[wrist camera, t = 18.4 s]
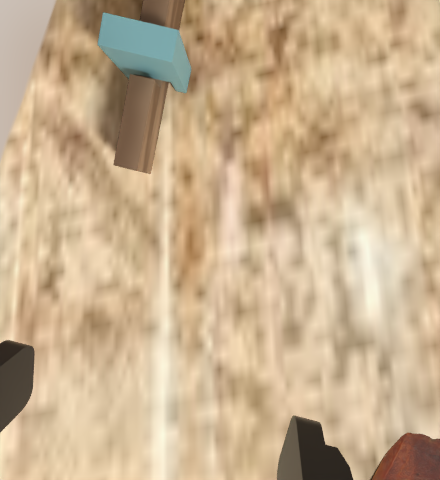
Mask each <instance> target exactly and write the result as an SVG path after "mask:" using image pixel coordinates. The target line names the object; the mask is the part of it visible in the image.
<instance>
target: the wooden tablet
mask: <svg viewBox="0 0 440 480" xmlns="http://www.w3.org/2000/svg"><path fill="white" fill-rule="evenodd" d="M372 480H440V439H431V438H430V437H428V436H426V435H423V434H412V433H406V434H405V435H403V436H402V437H401V438H400V439H399V440H398V441H397V442H396V443H395V444H394V445H393V446H392V447H391V448H390V450H389V451H388V452H387V453H386V454H385V456H384V457H383V459H382V461H381V463H380V464H379V466H378V469H377V470H376V472H375V474H374V476H373V478H372Z"/></svg>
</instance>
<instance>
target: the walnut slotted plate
mask: <svg viewBox="0 0 440 480" xmlns="http://www.w3.org/2000/svg"><path fill="white" fill-rule="evenodd" d="M184 2H185V0H143V5H142V10H141V16H140V21H142V22H147V23H151V24H155V25H159V26H164V27H168V28H172V29H176V30H179V27H180V22H181V17H182V12H183V7H184ZM168 83H169V82H166V81H162V80H158V79H154V78H150V77H145V76H141V75H140V76H136V75H132V74H130V77H129V82H128V88H127V93H126V99H125V104H124V110H123V115H122V121H121V126H120V132H119V137H118V143H117V148H116V154H115V160H114V165H115V166H119V167H123V168H127V169H131V170H136V171H140V172H144V173H148V174H151V169H152V164H153V159H154V154H155V149H156V144H157V139H158V134H159V129H160V124H161V119H162V114H163V109H164V103H165V98H166V93H167V88H168Z"/></svg>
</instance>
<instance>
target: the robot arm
mask: <svg viewBox="0 0 440 480" xmlns="http://www.w3.org/2000/svg"><path fill="white" fill-rule="evenodd" d="M33 373H34V348H33V347H32V346H29V345H25V344H22V343H18V342H14V341H10V340H6V341H4V342H2V343H1V344H0V432H1V431H2V430H3V429H4V428H5V427H6V426H7V425H8V424H9V423H10V422H11V421H12V420H13V419H14V418H15V417H16V416H17V415H18V414H19V413H20V412H21V411H22V410H23V408H24V407H25V406H26V404H27V402H28V401H29V398H30V396H31V393H32V389H33ZM277 480H353V478H352V474H351V470H350V467H349V465H348V464H347V462H346V461H345V459H344V457H343V456H342V454H341V453H340V451H339V450H338V448H336V447H332V446H328V445H325V441H324V436H323V431H322V427H321V424H320V422H317V421H313V420H309V419H306V418H302V417H298V416H293V417H292V419H291V421H290V424H289V428H288V431H287V434H286V438H285V441H284V444H283V448H282V451H281V454H280V458H279V463H278V471H277Z"/></svg>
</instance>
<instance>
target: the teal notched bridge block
mask: <svg viewBox="0 0 440 480" xmlns="http://www.w3.org/2000/svg"><path fill="white" fill-rule="evenodd" d="M98 46H99V47H100V48H101V49H102V50H103V51H104V52H105V54H106V55H107V56H108V57H109V58H110V59H111V60H112V61H113V62H114V64H115V65H116V66H117V67H118V68H119V69H120V70H121V71H122V72H123V74H124V75H125V76H126V77H127V78H128V79H129V77H130V74H132V75H136V76H140V75H141V76H145V77H150V78H154V79H158V80H162V81H166V82H171V83H172V85H173V87H174V88H175V90H176V91H179V92H183V93H186V92H187V87H188V83H189V78H190V73H191V66H190V63H189V60H188V57H187V54H186V51H185V48H184V45H183V42H182V39H181V36H180V33H179V30H176V29H172V28H168V27H164V26H159V25H155V24H151V23H147V22H142V21H138V20H134V19H129V18H125V17H121V16H117V15H112V14H108V13H104V12H103V16H102V22H101V28H100V33H99V39H98Z"/></svg>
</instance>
